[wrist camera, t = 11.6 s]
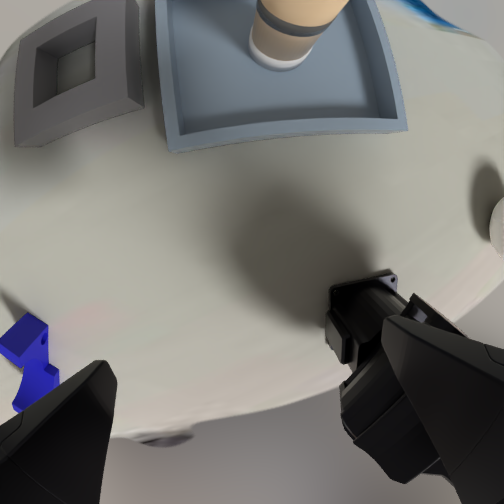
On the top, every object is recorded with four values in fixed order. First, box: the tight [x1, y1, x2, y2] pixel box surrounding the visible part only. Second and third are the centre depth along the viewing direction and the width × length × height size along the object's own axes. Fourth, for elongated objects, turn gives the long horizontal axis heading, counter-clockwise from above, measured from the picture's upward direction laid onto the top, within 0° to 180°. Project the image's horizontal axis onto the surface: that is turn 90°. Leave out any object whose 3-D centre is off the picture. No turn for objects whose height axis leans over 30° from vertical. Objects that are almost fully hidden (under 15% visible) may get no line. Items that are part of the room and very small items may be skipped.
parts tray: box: [155, 0, 408, 154], centre depth 14 cm, size 16×14×3 cm
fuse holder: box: [14, 0, 144, 147], centre depth 13 cm, size 10×10×4 cm
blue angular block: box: [0, 312, 60, 413], centre depth 20 cm, size 12×4×6 cm, turn 155°
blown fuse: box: [248, 0, 349, 72], centre depth 9 cm, size 4×4×13 cm
